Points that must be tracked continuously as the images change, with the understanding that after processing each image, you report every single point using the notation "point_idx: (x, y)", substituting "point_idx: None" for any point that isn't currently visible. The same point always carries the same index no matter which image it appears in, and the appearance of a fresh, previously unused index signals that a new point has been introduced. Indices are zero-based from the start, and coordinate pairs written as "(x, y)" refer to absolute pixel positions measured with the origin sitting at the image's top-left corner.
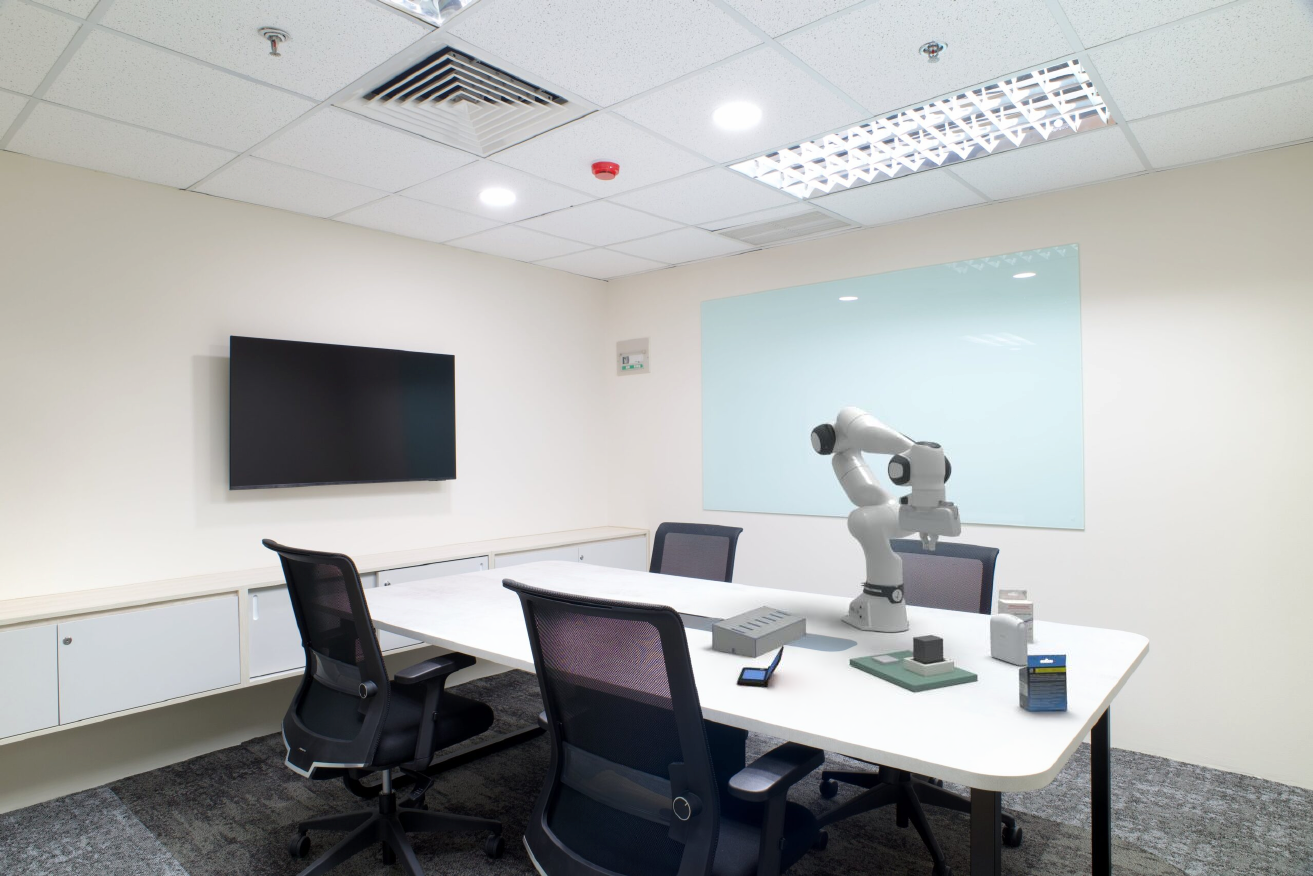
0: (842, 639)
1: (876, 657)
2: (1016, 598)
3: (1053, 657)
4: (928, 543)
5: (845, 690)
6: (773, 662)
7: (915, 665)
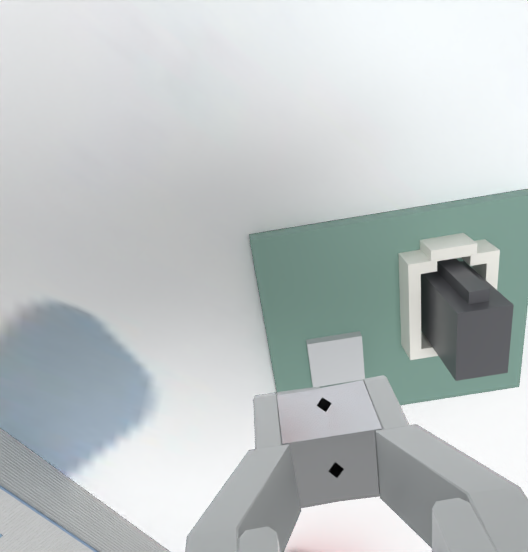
0: (25, 328)
1: (318, 378)
2: None
3: None
4: (340, 479)
5: None
6: None
7: None
